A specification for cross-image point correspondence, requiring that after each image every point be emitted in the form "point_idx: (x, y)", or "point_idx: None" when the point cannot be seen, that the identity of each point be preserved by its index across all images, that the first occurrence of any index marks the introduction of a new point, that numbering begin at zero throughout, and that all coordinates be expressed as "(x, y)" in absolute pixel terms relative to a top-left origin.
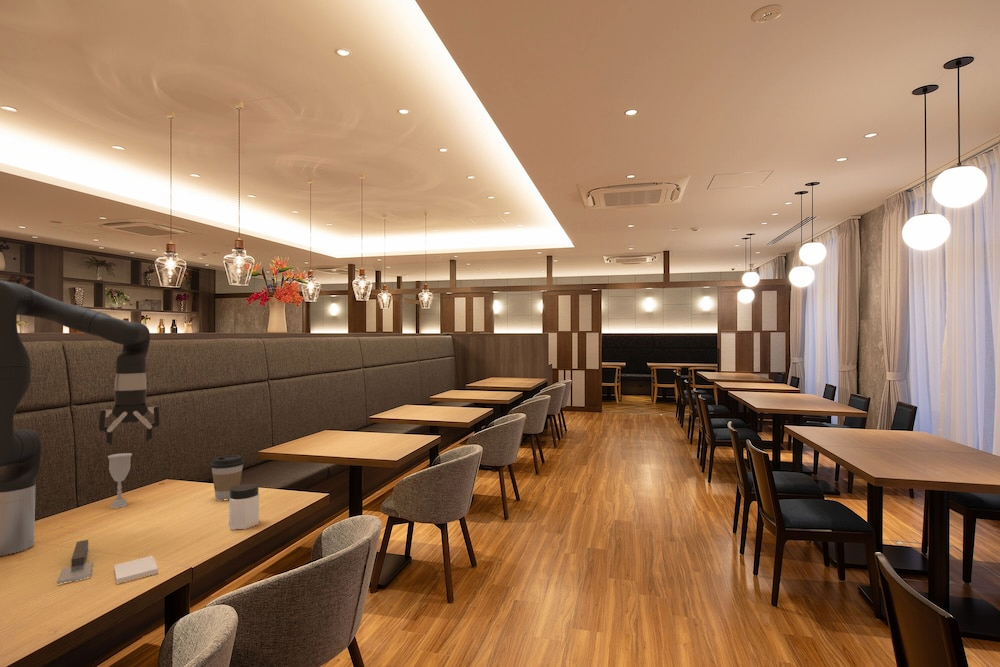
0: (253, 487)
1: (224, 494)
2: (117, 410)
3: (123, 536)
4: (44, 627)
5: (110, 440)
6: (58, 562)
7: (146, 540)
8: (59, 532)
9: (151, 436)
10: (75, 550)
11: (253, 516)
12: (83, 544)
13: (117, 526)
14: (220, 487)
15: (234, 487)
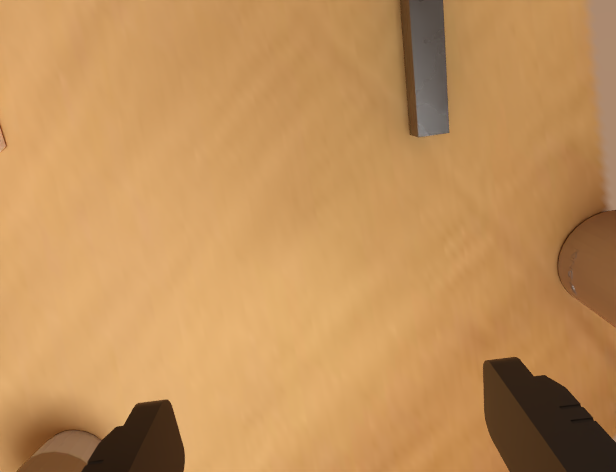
0: None
1: (68, 444)
2: None
3: (329, 217)
4: None
5: (532, 385)
6: (474, 58)
7: (254, 135)
8: (507, 353)
9: (97, 453)
10: (440, 30)
11: None
12: (425, 87)
13: (362, 328)
14: (67, 468)
15: None
